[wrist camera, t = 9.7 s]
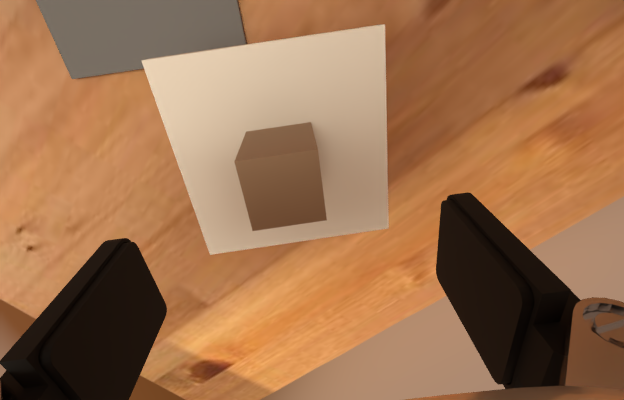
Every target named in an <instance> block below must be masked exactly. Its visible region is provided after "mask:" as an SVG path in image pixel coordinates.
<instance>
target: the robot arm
mask: <svg viewBox="0 0 624 400" xmlns="http://www.w3.org/2000/svg"><path fill="white" fill-rule="evenodd" d="M436 274H437V278H438V280H439V282H440V284H441V286H442V288H443V290H444V291H445V293H446V295H447V297H448V299H449V300H450V302H451V304H452V306H453V307H454V309H455V311H456V313H457V315H458V317H459V318H460V320H461V322H462V324H463V325H464V327H465V329H466V331H467V333H468V334H469V336H470V338H471V340H472V342H473V343H474V345H475V347H476V349H477V351H478V352H479V354H480V356H481V358H482V360H483V361H484V363H485V365H486V367H487V368H488V370H489V372H490V374H491V376H492V378H493V379H494V380H495V382H496V383H497V384H503V385H504V387H505V389H502V390H492V391H481V392H471V393H460V394H450V395H441V396H432V397H423V398H414V399H406V400H624V303H623V302H620V301H617V300H612V299H607V298H593V297H592V298H587V299H583V300H580V299H579V298H578V297H577V296H576V295H574V293H573V292H572V291H571V290H570V289H569V288H568V287H567V286H566V285H565V284H564V283H563V282H562V281H561V280H560V279H559V278H558V277H557V276H556V275H555V274H554V273H553V272H552V271H551V270H550V269H549V268H548V267H547V266H545V264H543V263H542V262H541V261H540V260H539V259H538V258H537V257H536V256H535V255H534V254H533V253H532V252H531V251H530V250H529V249H528V248H527V247H526V246H525V245H524V244H523V243H522V242H521V241H520V240H519V239H518V238H517V237H516V236H515V235H514V234H512V233H511V232H510V231H509V230H508V229H507V228H506V227H505V226H504V225H503V224H502V223H501V222H500V221H499V220H498V219H497V218H496V217H495V216H494V215H493V214H492V213H491V212H490V211H489V210H488V209H487V208H486V207H485V206H484V205H483V204H482V203H480V202H479V201H478V200H477V199H476V198H475V197H474V196H473V195H472V194H471V193H461V194H454V195H449V196H448V198H447V200H445V201H442V204H441V214H440V227H439V239H438V252H437V264H436ZM166 312H167V308H166V304H165V301H164V299H163V297H162V295H161V293H160V291H159V289H158V287H157V285H156V283H155V281H154V279H153V277H152V275H151V273H150V271H149V269H148V267H147V265H146V262H145V260H144V258H143V256H142V254H141V252H140V250H139V248H138V246H137V245H136V243H134V242H131V241H130V240H129V239H127V238H123V239H115V240H108V241H105V242H104V243H103V244H102V245H101V246H100V247H99V248H98V249H97V250H96V252H95V253H94V254H93V255H92V256H91V257H90V258H89V260H88V261H87V262H86V263H85V264H84V265H83V267H82V268H81V269H80V270H79V271H78V272H77V273H76V275H75V276H74V277H73V278H72V279H71V280H70V281H69V283H68V284H67V285H66V286H65V287H64V288H63V289H62V291H61V292H60V293H59V294H58V295H57V296H56V297H55V299H54V300H53V301H52V302H51V303H50V304H49V305H48V307H47V308H46V309H45V310H44V311H43V312H42V313H41V315H40V316H39V317H38V318H37V319H36V320H35V322H34V323H33V324H32V325H31V326H30V327H29V329H28V330H27V331H26V332H25V333H24V334H23V335H22V336H21V338H20V339H19V340H18V341H17V342H16V343H15V344H14V346H13V347H12V348H11V349H10V350H9V351H8V352H7V354H6V355H5V356H4V357H3V358H2V359H1V361H0V364H1V365H2V366H3V367H4V368H5V369H6V370H7V371H6V372H5V373H4V374H3V376H2V377H1V378H0V400H129V397H130V396H131V393H132V391H133V389H134V386H135V384H136V382H137V380H138V377H139V375H140V373H141V371H142V368H143V366H144V364H145V362H146V359H147V357H148V355H149V353H150V350H151V348H152V346H153V344H154V341H155V339H156V337H157V334H158V332H159V330H160V328H161V325H162V323H163V321H164V319H165V316H166Z"/></svg>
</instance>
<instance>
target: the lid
mask: <svg viewBox="0 0 624 400" xmlns="http://www.w3.org/2000/svg"><path fill="white" fill-rule="evenodd" d="M141 61H142V64H143V67H144V70H145V72H146V75H147V78H148V81H149V84H150V86H151V89H152V92H153V95H154V98H155V101H156V103H157V106H158V109H159V112H160V115H161V117H162V120H163V123H164V126H165V129H166V132H167V134H168V137H169V140H170V143H171V146H172V148H173V151H174V154H175V157H176V160H177V163H178V165H179V168H180V171H181V174H182V177H183V180H184V182H185V185H186V188H187V191H188V194H189V196H190V199H191V202H192V205H193V208H194V211H195V213H196V216H197V219H198V222H199V225H200V227H201V230H202V233H203V236H204V239H205V242H206V244H207V247H208V250H209V253H210V255H212V254H218V253H225V252H232V251H239V250H246V249H252V248H259V247H266V246H273V245H279V244H286V243H293V242H300V241H307V240H313V239H320V238H327V237H334V236H340V235H347V234H354V233H361V232H368V231H374V230H381V229H388V228H389V218H388V163H387V108H386V52H385V24H383V25H373V26H366V27H359V28H353V29H346V30H339V31H332V32H326V33H319V34H312V35H305V36H299V37H292V38H285V39H278V40H272V41H265V42H258V43H251V44H245V45H238V46H231V47H224V48H218V49H211V50H204V51H197V52H191V53H184V54H177V55H170V56H164V57H157V58H150V59H146V60H141Z"/></svg>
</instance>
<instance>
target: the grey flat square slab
mask: <svg viewBox="0 0 624 400" xmlns="http://www.w3.org/2000/svg"><path fill="white" fill-rule="evenodd" d="M36 2H37V4H38V6H39V8H40V11H41V13H42V15H43V17H44V19H45V21H46V24H47V26H48V28H49V30H50V32H51V34H52V37H53V39H54V41H55V43H56V45H57V48H58V50H59V52H60V54H61V56H62V58H63V61H64V63H65V65H66V67H67V69H68V71H69V74H70V76H71V78H72V79H76V78H83V77H90V76H97V75H104V74H110V73H117V72H124V71H131V70H138V69H144V67H143V64H142V61H141V60H146V59H150V58H157V57H164V56H170V55H177V54H184V53H191V52H197V51H204V50H211V49H218V48H224V47H231V46H238V45H245V44H247V43H246V38H245V33H244V28H243V23H242V18H241V13H240V8H239V3H238V0H36Z"/></svg>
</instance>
